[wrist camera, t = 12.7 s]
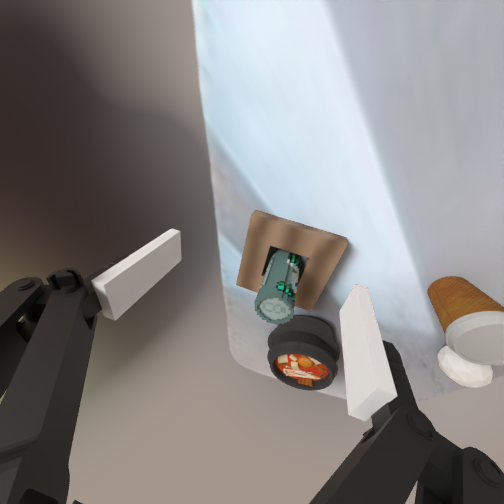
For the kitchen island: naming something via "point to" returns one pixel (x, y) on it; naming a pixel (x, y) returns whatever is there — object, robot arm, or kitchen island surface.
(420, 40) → the kitchen island surface
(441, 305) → the disposable coffee cup
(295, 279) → the can
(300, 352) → the casserole
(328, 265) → the frame
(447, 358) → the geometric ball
